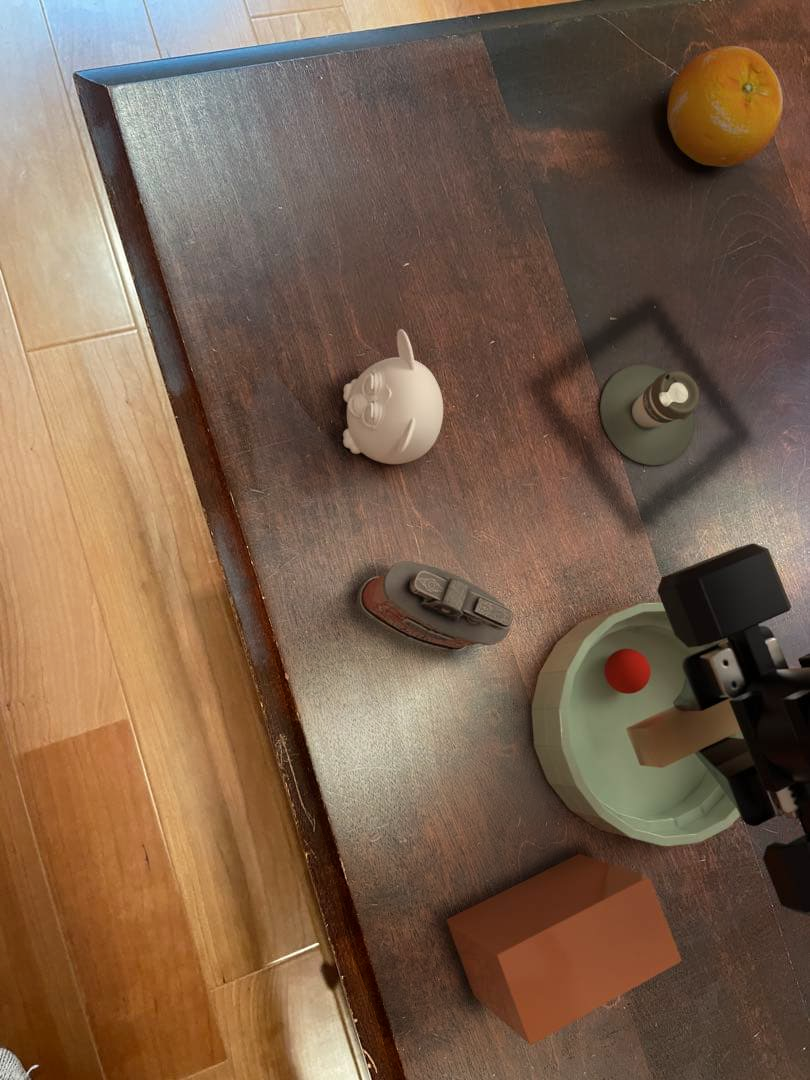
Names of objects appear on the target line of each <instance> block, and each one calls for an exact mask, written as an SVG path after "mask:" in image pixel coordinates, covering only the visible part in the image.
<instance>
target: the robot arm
mask: <svg viewBox="0 0 810 1080" xmlns="http://www.w3.org/2000/svg"><path fill="white" fill-rule="evenodd" d="M780 577H781V576H780V574H779V572H778V569H777V567H776V565H775V562H774V560H773V558H772V554H771V553H770V550H769V548H768V547H764V546H763V545H759V544H757V543H754V542H752V543H749V544H745V545H741V546H738V547H735V548H732V549H729V550H727V551H725V552H721V553H720V554H717V555H715V556H712V557H710V558H707V559H705V560H702V561H699V562H697V563H694V564H691V565H689V566H687V567H684V568H682V569H680V570H677V571H674V572H672V573H670V574H667V575H664V576H661V578H660V581H659V584H658V587H657V590H656V591H657V594H658V596H659V599H660V602H662V604H663V606H664V609H665V611H666V614H667V617H668V619H669V622H670V624H671V627H672V629H673V632H674V634H675V636H676V637H677V638H678V639H679V640H681V641H682V642H683V643H684V644H685V645H686V646H687V647H688V648H691V647H699V646H703V645H706V644H709V643H713V642H716V641H719V640H722V639H725V638H727V639H726V640H724V641H722V642H719V643H717V644H715V645H712V646H710V647H708V648H705V649H703V650H701V651H698V652H696V653H694V654H692V655H689V656H687V657H686V658H685V659H684V660H683V663H682V668H683V671H684V674H685V682H684V685H683V689H682V691H681V693H680V694H679V695H678V696H677V698H676V699H675V700H674V701H673V704H674V706H675V708H677V709H679V710H681V711H703V710H705V709H708V708H710V707H712V706H714V705H716V704H719V703H721V702H723V701H725V700H727V699H729V698H733V699H732V700H730V701H729V702H730V705H731V707H732V710H733V712H734V715H735V717H736V720H737V722H738V725H739V727H740V730H741V732H742V735H743V737H744V739H741V738H732V737H727V738H725V739H723V740H720V741H718V742H716V743H714V744H712V745H710V746H708V747H706V748H704V749H701V750H699V751H697V752H695V754H696V756H697V757H698V758H699V759H700V761H701V762H702V763H703V764H704V765H705V767H706V768H707V769H708V770H709V772H710V773H711V774H712V776H713V777H714V778H715V779H716V781H717V782H718V783H719V785H720V786H721V787H722V789H723V790H724V791H725V793H726V794H727V796H728V797H729V798H730V800H731V801H732V803H733V804H734V805H735V807H736V808H737V810H738V812H739V814H740V816H739V817H740V819H741V820H742V822H743V823H745V824H746V825H748V826H751V827H757V826H760V825H761V824H763V823H765V822H767V821H769V820H771V819H773V818H775V817H783V816H784V815H785V818H786V819H791V820H799V823H800V825H801V828H802V831H803V833H804V834H803V835H802V836H800V837H797V838H796V839H794V840H792V841H790V842H788V843H783V842H778V841H774V842H772V843H770V844H768V845H767V846H765V850H764V853H763V856H762V860H763V863H764V865H765V868H766V870H767V873H768V875H769V878H770V881H771V883H772V885H773V889H774V890H775V893H776V895H777V898H778V901H779V903H780V906H782V907H784V908H787V909H789V910H790V911H793V912H796V913H799V914H802V915H806V916H809V917H810V652H809V653H807V654H806V655H803V656H801V657H798V658H797V660H798V663H799V665H800V667H797V668H796V667H794V668H789V665H788V663H787V660H786V656H785V655H784V652H783V650H782V647H781V645H780V642H779V640H778V639H777V637H775V636H774V635H775V634H774V633H773V631H772V630H771V629H770V628H769V627H768V626H765V625H760V624H762V623H764V622H767V621H769V620H771V619H773V618H775V617H777V616H781V615H782V614H785V613H787V612H790V611H791V609H792V604H791V601H790V599H789V596H788V594H787V592H786V590H785V587H784V584H783V582H782V580H781V578H780Z"/></svg>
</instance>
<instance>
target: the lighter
mask: <svg viewBox="0 0 810 1080" xmlns="http://www.w3.org/2000/svg"><path fill="white" fill-rule="evenodd" d="M356 600H357V601H356V603H357V607H358V609H359V611H360V612H361V613H362V614H363V615H364V616H366V617H367V618H368V619H370V620H372V621H373V622H374V623H376V625H379V626H380V627H381V628H383V629H385V630H387V631H388V632H390V633H393V634H394V635H397V636H398V637H401V638H402V639H403V640H406V641H410V642H412V643H415V644H418V645H421V646H424V647H426V648H431V649H435V650H439V651H443V652H448V653H455V652H460V651H462V650H464V649H466V648H467V647H470V646H475V645H483V646H492V645H496V644H498V643H501V642H502V641H503V640H504V639H505V638H506V637H508V634H509V632H510V630H511V626H512V624H513V623H514V618H515V615H514V614H515V613H514V612H513V610H512V609H511V608H508V607H507V606H506V605H505V604H504V603H503V602H501V601H500V600H498V599H497V598H496V597H495V596H493V595H491V594H490V593H489V592H487V591H486V590H485V589H483V588H481V587H480V586H477V585H475V584H474V583H473V582H470V581H468V580H467V579H465V578H463V577H461V576H459V575H456V574H454V573H452V572H448V571H446V570H442V569H441V568H437V567H434V566H432V565H428V564H423V563H419V562H415V561H410V560H402V561H399V562H397V563H394V564H393V565H392V566H391V567H389V568H388V569H387V571H386V572H385V573H384V574H381V575H380V576H374V577H371V578H369V579H367V580H366V581H365V582H364V583H363V584H361V586H360V588H359V590H358V592H357V597H356Z"/></svg>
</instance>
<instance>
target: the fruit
mask: <svg viewBox="0 0 810 1080" xmlns="http://www.w3.org/2000/svg"><path fill="white" fill-rule="evenodd" d="M783 97H784V96H783V90H782V85H781V83H780V80H779V78H778V76H777V74H776V72H775V71H774V69H773V68H772V66H770V64H769V62H768V61H767V60H766V59H765V58H764V57H763V56H762V55H761V54H760V53H758V52H757V51H755V50H753V49H751V48H749V47H745V46H738V45H727V46H719V47H716V48H712V49H711V50H708V51H704V52H703V53H701V54H699V55H697V56H696V57H694V58H693V59H691V60H690V61H689V62H688V63H687V64H686V65H685V66H684V67H683V68H682V69H681V70H680V72H679V73H678V74H677V76H676V77H675V80H674V82H673V84H672V86H671V89H670V93H669V96H668V101H667V109H666V111H667V114H666V118H667V126H668V128H669V131H670V134H671V136H672V138H673V140H674V143H675V145H676V147H678V148H679V150H681V152H682V153H683V154H684V155H686V156H687V157H689V158H690V159H692V160H693V161H694V162H696V163H698V164H700V165H703V166H709V167H717V168H718V167H720V168H729V167H733V166H737V165H740V164H742V163H744V162H747V161H749V160H750V159H752V158H754V157H756V156H757V155H759V154H760V153H761V152H762V151H763V150H764V149H765V148H766V147H767V146H768V144H769V143H770V141H772V138H773V137H774V135H775V133H776V131H777V129H778V127H779V124H780V122H781V120H782V116H783V109H784V108H783V107H784V99H783Z"/></svg>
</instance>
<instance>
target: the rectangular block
mask: <svg viewBox="0 0 810 1080" xmlns="http://www.w3.org/2000/svg"><path fill="white" fill-rule="evenodd" d="M446 923H447V926H448V928H449V932H450V934H451V937H452V940H453V942H454V945H455V947H456V950H457V953H458V956H459V959H460V961H461V964H462V967H463V970H464V973H465V975H466V978H467V980H468V983H469V986H470V989H471V991H472V993H473V997H474V998H476V1000H478V1001H479V1002H480V1003H481V1004H482V1005H484V1006H485V1007H486V1008H487V1009H488V1010H490V1011H491V1012H492V1013H493V1014H494V1015H495V1016H496V1017H497V1018H499V1019H500V1020H501V1021H502V1022H503V1023H504V1024H505V1025H506V1026H508V1027H509V1028H510V1029H511V1030H512V1031H513V1032H514V1033H516V1035H518V1036H519V1037H520V1038H522V1040H523V1041H525V1042H526V1043H527V1044H528V1045H529V1046H532V1045H534V1044H536V1043H538V1042H539V1041H541V1040H543V1039H544V1038H547V1037H548V1036H551V1035H552V1034H554V1033H555V1032H557V1031H559V1030H561V1029H563V1028H565V1027H566V1026H568V1025H570V1024H572V1023H573V1022H575V1021H578V1020H579V1019H581V1018H582V1017H585V1016H586V1015H587V1014H589V1013H592V1012H593V1011H595V1010H597V1009H598V1008H601V1007H602V1006H604V1005H605V1004H608V1003H609V1002H611V1001H613V1000H614V999H616V998H619V997H620V996H622V995H625V993H627V992H629V991H631V990H633V989H635V988H636V987H638V986H640V985H641V984H643V983H645V982H647V981H649V980H651V979H652V978H654V977H656V976H658V975H659V974H661V973H663V972H665V971H667V970H668V969H670V968H672V967H674V966H676V965H677V964H679V963H681V962H682V958H681V954H680V952H679V949H678V947H677V944H676V943H675V939H674V937H673V935H672V932H671V929H670V926H669V923H668V922H667V919H666V916H665V913H664V911H663V908H662V906H661V903H660V901H659V897H658V895H657V893H656V890H655V887H654V885H653V882H652V880H651V877H650V876H648V875H646V874H642V873H640V872H637V871H633V870H630V869H627V868H624V867H621V866H618V865H616V864H613V863H610V862H606V861H603V860H600V859H597V858H595V857H592V856H588V855H586V854H582V853H578V854H576V855H574V856H572V857H570V858H567V859H566V860H564V861H562V862H559V863H557V864H556V865H554V866H552V867H549V868H547V869H545V870H544V871H542V872H539V873H538V874H536V875H534V876H531V877H529V878H527V879H525V880H522V882H519V883H517V884H516V885H513V886H510V887H508V888H507V889H505V890H503V891H501V892H499V893H497V894H495V895H493V896H491V897H488V898H487V899H485V900H483V901H481V902H478V903H477V904H475V905H473V906H470V907H469V908H466V909H464V910H462V911H461V912H459V913H456V914H455V915H452V916H450V917H448V918H446Z"/></svg>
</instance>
